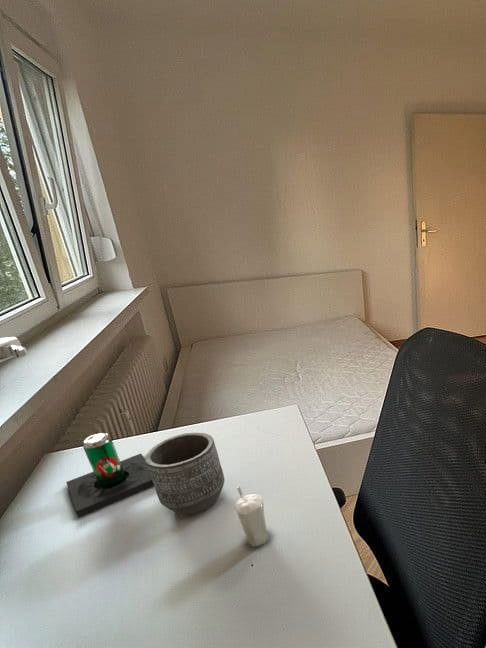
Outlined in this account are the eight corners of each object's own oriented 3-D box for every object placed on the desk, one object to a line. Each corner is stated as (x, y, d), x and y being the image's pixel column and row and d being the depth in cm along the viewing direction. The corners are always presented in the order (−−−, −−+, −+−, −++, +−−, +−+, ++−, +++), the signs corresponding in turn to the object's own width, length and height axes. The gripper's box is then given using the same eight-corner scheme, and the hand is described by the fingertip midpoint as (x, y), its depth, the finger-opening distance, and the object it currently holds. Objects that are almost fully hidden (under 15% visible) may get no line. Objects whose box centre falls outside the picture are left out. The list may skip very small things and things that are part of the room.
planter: (196, 528, 82) (178, 472, 77) (149, 515, 87) (129, 460, 82) (241, 489, 92) (227, 436, 87) (197, 479, 97) (181, 428, 92)
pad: (79, 517, 87) (76, 511, 87) (68, 487, 97) (66, 481, 97) (159, 483, 96) (157, 477, 96) (142, 458, 106) (141, 453, 106)
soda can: (108, 479, 99) (89, 433, 94) (131, 476, 99) (114, 430, 94) (96, 493, 94) (75, 445, 90) (120, 490, 95) (101, 443, 90)
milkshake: (261, 525, 82) (250, 481, 78) (276, 539, 79) (265, 493, 74) (238, 538, 79) (225, 493, 75) (252, 553, 76) (239, 507, 72)
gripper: (-9, 359, 97) (51, 356, 96) (-112, 400, 78) (-39, 397, 78) (-22, 331, 95) (39, 328, 94) (-131, 368, 76) (-57, 364, 75)
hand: (3, 360), depth 85 cm, fingers open, 8 cm apart
